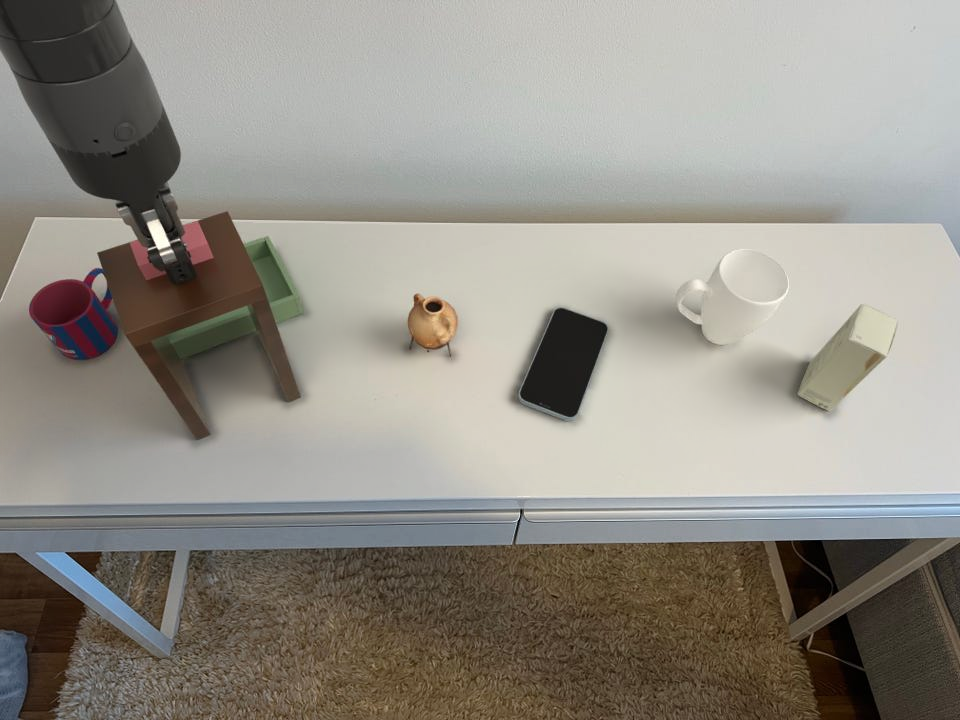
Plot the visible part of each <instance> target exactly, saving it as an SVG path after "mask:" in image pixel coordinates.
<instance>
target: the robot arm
mask: <svg viewBox="0 0 960 720" xmlns="http://www.w3.org/2000/svg"><path fill="white" fill-rule="evenodd" d="M0 53H1V55H2V56H3V57H4V59H5V61H6V62H7V64H8V66H9V68H10V70H11V72H12V74H13V76H14V78H15V81H16V83H17V86H18V88H19V90H20V93H21V95H22V97H23V100H24V102H25V104H26V105H27V107H28V108H29V111H30V112H31V114H32V116H33V117H34V118H35V120H36V122H37V124H38V125H39V127H40V128H41V130H42V132H43V133H44V135H45V137H46V138H47V140H48V142H49V144H50V145H51V147H52V149H53V150H54V152H55V153H56V155H57V156H58V158H59V160H60V162H61V163H62V165H63V167H64V169H65V170H66V172H67V173H68V175H69V177H70V178H71V180H72V182H73V183H74V184H75V185H76V186H77V187H78V188H79V189H80V190H81V191H83V192H84V193H87V194H88V195H91V196H93V197H97V198H100V199H106V200H112V201H116V202H114V204H115V207H116V210H117V212H118V214H119V215H120V217H121V219H122V221H123V223H124V224H125V225H127V226H129V227H130V228H131V230H132V231H133V233H134V235H135V237H136V238H137V239H136V240H139V242H140V244H141V245H142V246H143V247H147V250H148V251H147V253H148V256H149V257H147V258H148V260H149V263H152V264H153V266H154V267H155V268H156V269H158V270H159V271H161V272H162V271H165V272H166V273H167V275H168V277H169V279H170V281H171V283H172V284H175V285H177V284H181V283H184V282H187V281H190V280H193V279H195V278H196V277H197V273H196V271H195V268H194V266H193V263H192V261H191V259H190V257H191V255H190V252H189V251H188V252H187V249H186V247H187V244H186V242H185V241H184V242H183V240H182V236H183V235H184V234H185V230H184V227H183V225H184V224H183V222H182V220H181V218H180V215H179V213H178V209H179V206H178V204H177V201H176V199H175V197H174V194H173V191H172V190H171V188H170V185H169V183H168V182H169V181H170V180H171V179H172V178H173V176H174V175H175V174H176V172H177V171H178V170H179V166H180V163H181V159H182V151H181V147H180V144H179V142H178V139H177V137H176V133H175V132H174V129H173V127H172V125H171V122H170V119H169V117H168V114H167V112H166V109H165V107H164V104H163V102H162V99H161V96H160V93H159V91H158V89H157V87H156V84H155V82H154V79H153V77H152V74H151V72H150V70H149V67H148V65H147V63H146V61H145V60H144V58H143V55H142V54H141V52H140V51H139V49H138V47H137V46H136V44H135V41H134V40H133V38H132V36H131V34H130V32H129V29H128V26H127V24H126V22H125V18H124V17H123V14H122V11H121V9H120V7H119V4H118V2H117V0H0Z"/></svg>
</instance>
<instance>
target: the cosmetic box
mask: <svg viewBox="0 0 960 720" xmlns="http://www.w3.org/2000/svg"><path fill="white" fill-rule="evenodd" d="M899 322H900V321H899V319H898V318H895V317H893V316H891V315H889V314H887V313H885V312H883V311H881V310H879V309H877V308H875V307H873V306H870V305H869V304H866V303H864V302H862V303H860V305H859V306H858V307H857V308H856V309H855V310H854V312H852V314H851V315H850V316H849V317H848V319H847V320H846V321H845V322H843V324H842V325H841V326H840V328H839V329H837V331H836V332H835V333H834V334H833V336H831V338H830V339H829V340H828V341H827V342H826V343H825V345H823V346H822V348H821V349H820V350H819V351H818V352H817V353H816V355H815V356H814V357H813V358H812V359H811V360H810V362H809V364H808V366H807V368H806V370H805V373H804V375H803V378H802V380H801V383H800V384H799V388H798V391H797V396H798V397H800V398H802V399H803V400H806V401H808V402H810V403H811V404H813V405H815V406H817V407H818V408H821V409H823V410H825V411H828V412H831V411H832V410H833V409H834V408H836V406H837V405H838V404H839V403H840V402H841V401H842V400H843V399H844V398H845V397H846V396H847V395H849V394H850V393H851V392H852V391H853V390H854V389H855V388H856V387H857V386H858V385H859V384H860V383H861V382H862V381H863V380H864V379H865V378H866V377H868V376H869V374H870V373H871V372H873V371H874V370H875V369H876V368H877V367H878V366H879V365H880V364H881V363H882V362H883V361H884V360H885V359H886V358H887V357H888V356H889V354H890V351H891V349H892V346H893V343H894V340H895V336H896V333H897V329H898V325H899Z"/></svg>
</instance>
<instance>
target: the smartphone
mask: <svg viewBox="0 0 960 720" xmlns="http://www.w3.org/2000/svg"><path fill="white" fill-rule="evenodd" d="M609 329H610V328H609V325H608V323H606V322H605V321H602V320H600V319H597V318H594V317H592V316H589V315H586V314H583V313H581V312H578V311H575V310H572V309H570V308H567V307H564V306H563V307H562V306H560V307H556V308H555V309H554V310H553V311H552V314H551V316H550V318H549V321H548V323H547V326H546V328H545V329H544V332H543V334H542V338H541V339H540V342H539V344H538V347H537V349H536V351H535V353H534V355H533V358H532V360H531V362H530V365H529V368H528V369H527V371H526V374H525V377H524V379H523V381H522V384H521V386H520V388H519V391H518V396H517V397H518V401H519V402H520V403H521V404H522V405H524V406H526V407H529V408H532V409H534V410H537V411H539V412H542V413H545V414H547V415H550V416H553V417H555V418H558V419H559V420H562V421H565V422H572V421H574V420H576V418H577V417H578V416H579V413H580V410H581V407H582V406H583V403H584V400H585V398H586V394H587V392H588V389H589V386H590V383H591V380H592V377H593V375H594V372H595V369H596V366H597V363H598V361H599V358H600V355H601V353H602V350H603V347H604V344H605V341H606V339H607V336H608V333H609Z"/></svg>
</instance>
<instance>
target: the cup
mask: <svg viewBox="0 0 960 720" xmlns="http://www.w3.org/2000/svg"><path fill="white" fill-rule="evenodd" d="M101 274H102V275H103V276H104V277H105V275H104V272H103V269H102V267H95V268H93V269H91V270H90V271H89V273H88V274H86V275H85V278H84V279H83V280H80V279H75V278H66V279H65V278H64V279H60V280H56V281H53V282H50V283H49V284H47V285H45V286H43V287H42V288H40V289H39V290H38V291H37V292H36V293H35V294H34V296H32V299H30V300H31V301H30V303H29V305H28V306H29V307H28V313H29V316H30V318H31V320H32V321H33V322H34V324H35V325H36V326H37V327H38V328H39V329H40V331H42V332H43V334H44V335H45V336H46V337H47V338H48V340H49V341H50V342H51V343H52V344H53V345H54V346H55V347H56V348H57V350H58V351H59V352H60V353H61V354H62V355H63V356H64V357H66V358H68V359H72V360H74V361H75V360H78V361H84V360H90V359H93V358H96V357H98V356H101V355H102V354H105V352H107V351H108V350H109V349H110V348H111V347H112V346H113V344H114V343H115V342H116V339H117V338H118V337H117V336H118V325H117V323H116V321H115V320H114V318H113V317H112V315H111V314H110V313H109V311H108V309H109V308H110V306H111V303H112V302H113V299H112V296H111V293H110V290H109V287H108V284H107V283H106V291H105V294H104V296H103V299H102V300H100V298H99V297H98V296H97V293H96V292H95V291H94V290H93V288H92V287H93V284H94V282H95V279H96V278H97V277H98V276H99V275H101Z"/></svg>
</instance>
